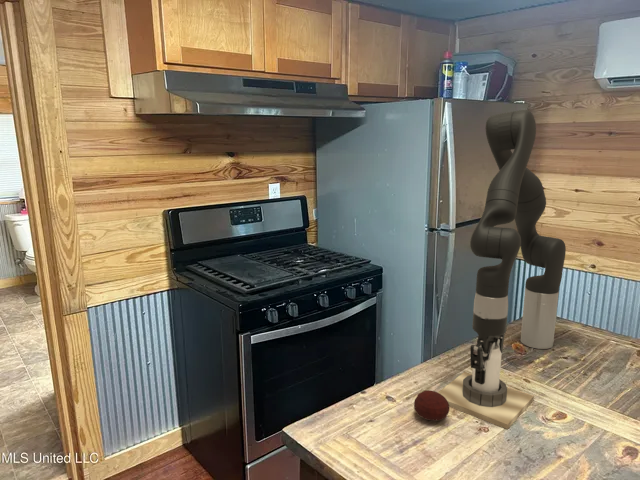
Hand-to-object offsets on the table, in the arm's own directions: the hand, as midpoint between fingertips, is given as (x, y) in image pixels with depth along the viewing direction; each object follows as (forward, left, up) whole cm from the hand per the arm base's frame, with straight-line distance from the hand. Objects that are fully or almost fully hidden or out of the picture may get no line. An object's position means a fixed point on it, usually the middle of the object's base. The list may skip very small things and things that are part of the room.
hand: (485, 377), depth 118 cm
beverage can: (0, 0, -4) cm, 4 cm away
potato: (+15, -6, -6) cm, 17 cm away
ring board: (0, 0, -6) cm, 6 cm away
